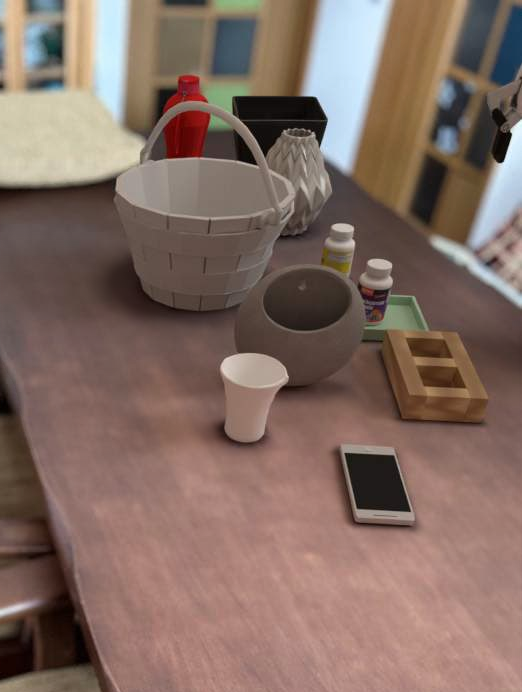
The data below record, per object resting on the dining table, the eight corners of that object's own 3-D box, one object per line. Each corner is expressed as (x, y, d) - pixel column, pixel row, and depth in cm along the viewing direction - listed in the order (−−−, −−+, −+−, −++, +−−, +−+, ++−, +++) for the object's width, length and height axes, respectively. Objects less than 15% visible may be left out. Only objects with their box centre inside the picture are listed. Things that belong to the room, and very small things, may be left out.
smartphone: (392, 451, 111) (393, 445, 111) (414, 526, 100) (416, 520, 99) (338, 448, 112) (340, 443, 111) (354, 522, 100) (356, 516, 100)
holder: (450, 355, 132) (457, 332, 129) (480, 422, 117) (489, 398, 114) (380, 351, 132) (386, 328, 129) (402, 418, 118) (409, 394, 115)
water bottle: (151, 210, 177) (156, 80, 160) (168, 194, 184) (175, 68, 168) (191, 217, 174) (201, 86, 157) (207, 200, 182) (218, 73, 165)
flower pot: (229, 200, 182) (237, 117, 171) (224, 172, 196) (231, 94, 185) (315, 202, 181) (329, 120, 170) (304, 174, 196) (316, 96, 184)
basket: (198, 235, 167) (211, 69, 147) (328, 299, 146) (364, 115, 126) (72, 272, 153) (68, 94, 133) (196, 348, 132) (213, 150, 112)
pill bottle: (350, 324, 138) (362, 268, 131) (351, 310, 142) (363, 255, 135) (383, 328, 137) (397, 272, 130) (383, 314, 141) (396, 258, 134)
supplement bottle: (324, 271, 155) (333, 219, 148) (351, 278, 153) (363, 225, 146) (313, 282, 151) (323, 229, 145) (342, 289, 149) (353, 235, 143)
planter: (229, 395, 122) (243, 273, 109) (226, 370, 127) (240, 252, 114) (354, 399, 121) (383, 278, 109) (347, 374, 126) (374, 256, 114)
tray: (411, 306, 144) (414, 295, 143) (427, 343, 134) (430, 331, 133) (312, 301, 145) (314, 291, 144) (320, 337, 135) (323, 326, 134)
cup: (265, 457, 110) (276, 392, 104) (202, 437, 114) (208, 373, 107) (288, 425, 116) (300, 362, 109) (228, 406, 119) (235, 344, 113)
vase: (238, 238, 166) (249, 140, 154) (254, 210, 178) (265, 117, 165) (319, 249, 162) (336, 149, 150) (329, 220, 174) (347, 125, 162)
